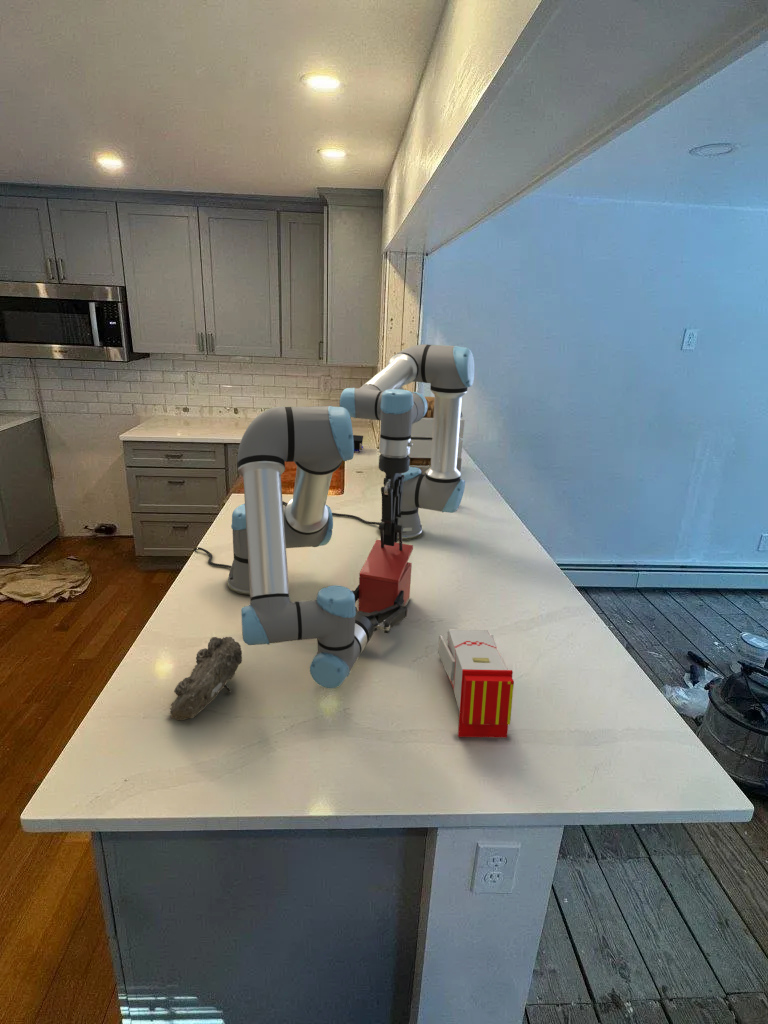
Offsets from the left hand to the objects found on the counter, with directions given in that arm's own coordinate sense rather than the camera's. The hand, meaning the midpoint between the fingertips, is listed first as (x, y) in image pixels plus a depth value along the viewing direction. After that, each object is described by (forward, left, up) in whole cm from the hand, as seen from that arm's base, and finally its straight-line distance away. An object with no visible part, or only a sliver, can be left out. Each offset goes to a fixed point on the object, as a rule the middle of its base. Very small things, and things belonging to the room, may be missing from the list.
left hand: (381, 591), depth 145 cm
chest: (0, +3, -6) cm, 7 cm away
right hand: (0, +6, +11) cm, 13 cm away
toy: (+27, -24, -6) cm, 37 cm away
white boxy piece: (-22, +135, -6) cm, 137 cm away
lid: (0, +4, +7) cm, 8 cm away
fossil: (-23, -42, -6) cm, 48 cm away
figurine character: (-64, +164, -6) cm, 176 cm away
